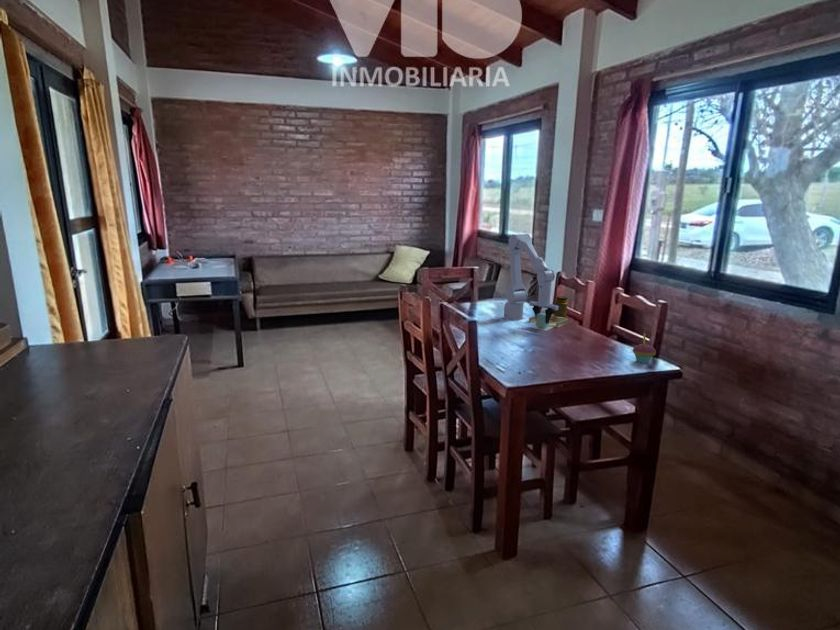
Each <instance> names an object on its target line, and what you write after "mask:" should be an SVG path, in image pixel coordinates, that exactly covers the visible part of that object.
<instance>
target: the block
mask: <svg viewBox="0 0 840 630" xmlns="http://www.w3.org/2000/svg"><path fill="white" fill-rule="evenodd" d="M535 326H538V327H543V328H545V327H548V326H549V323H547V324H546V313H545V312H540V313H539V314H537V318H536V323H535ZM549 327H550V326H549Z"/></svg>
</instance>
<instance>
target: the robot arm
mask: <svg viewBox="0 0 840 630" xmlns="http://www.w3.org/2000/svg"><path fill="white" fill-rule="evenodd" d="M523 250H524V251H525V253H526V254H527V256H528V257H529V259H530V260H531V266H532V268H533V269H534V270H535V273H536V274H537V275H536V279H537V284H538V295H537V301H532V300H531V301H529V306H530V307H531V308H532V311H533V314H534V316H535V317H536V318H537V314H539V313H542V312H541V311H542V308H544V309H545V310H544V311H545V312H544V313H546V324H547V323H549V320H550V317H551V315H552V316H553V314H554V313H555V310H558V306H557V305H555V304H552V303H551V295H552V282H553V281H554V280H555V272H554V270H553V269H551V268H549V267H548V266H547V264H546V262H545V261H544V258H542V257H539V255H538V253H537V251H536V250H535V247H534V245H533V238H532V237H531V235H530V234H528V233H525V234H523V233H522V234H521V233H520V234H511V235H510V237H509V238H508V251H509V253H508V254H509V265H510V267H509V268H510V269H509V271H510V281H511V282H510V285H509V286H508V287H507V288H506V290H507V291H506V294H505V295H506V302H505V303H504V307H503V317H502V319H504V320H506V319H507V320H512V321H516V322H519V321H522V320H525V319H526V317H524V306H525V305H524V304H525V303H526V301H527V299H528V294H529V293H528V291H527V287H526V285H525V284H523V280H522V266H521V265H522V264H521V263H522V262H521V253H522V252H523Z"/></svg>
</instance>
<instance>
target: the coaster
mask: <svg viewBox="0 0 840 630" xmlns="http://www.w3.org/2000/svg"><path fill="white" fill-rule="evenodd" d="M530 328H532V329H536V330H539V331H549V330H551V329H553V328H554V327H552V326H548V327H545V328H543V327H538V326H536V325H533V326H531V327H530Z"/></svg>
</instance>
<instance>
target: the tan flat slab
mask: <svg viewBox="0 0 840 630" xmlns="http://www.w3.org/2000/svg"><path fill="white" fill-rule="evenodd" d="M528 322H529V323H534V324H536V317H535V315H533V316H530V317H529V319H528ZM568 324H570V318H567V317H566V318H562V317H557V316H554V315H553V314H552V315H551V317H550V320H549V327H553V328H557V329H558V328H561V327H563V326H566V325H568Z"/></svg>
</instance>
